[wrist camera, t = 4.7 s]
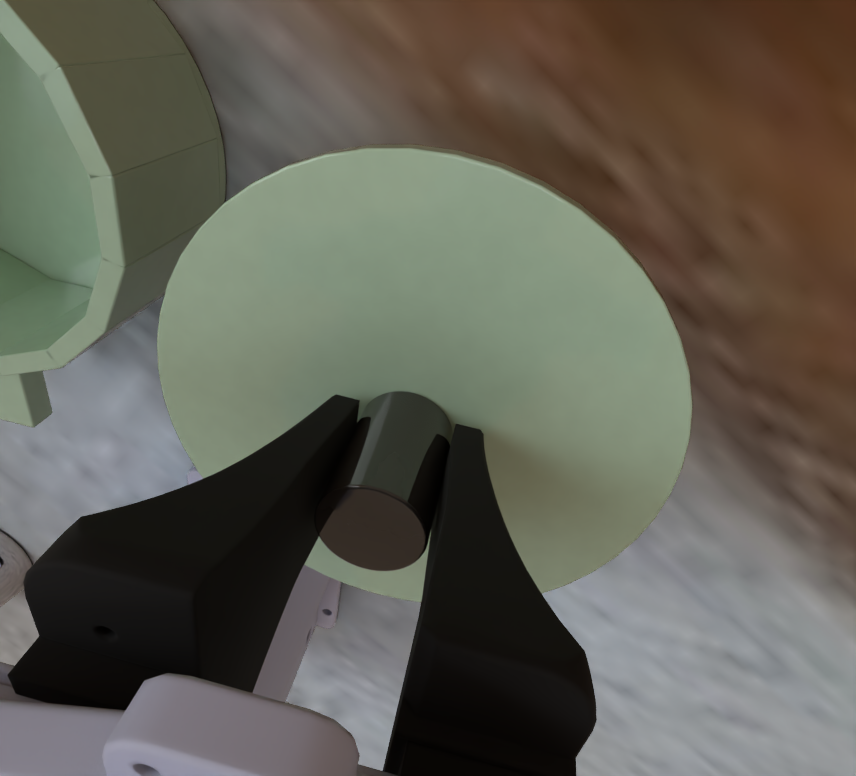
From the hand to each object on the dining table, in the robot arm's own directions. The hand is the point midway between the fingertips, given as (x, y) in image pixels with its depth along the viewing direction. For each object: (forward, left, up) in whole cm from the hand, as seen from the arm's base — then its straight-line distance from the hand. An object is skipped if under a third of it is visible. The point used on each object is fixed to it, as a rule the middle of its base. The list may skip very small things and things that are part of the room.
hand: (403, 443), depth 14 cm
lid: (0, 0, -1) cm, 1 cm away
